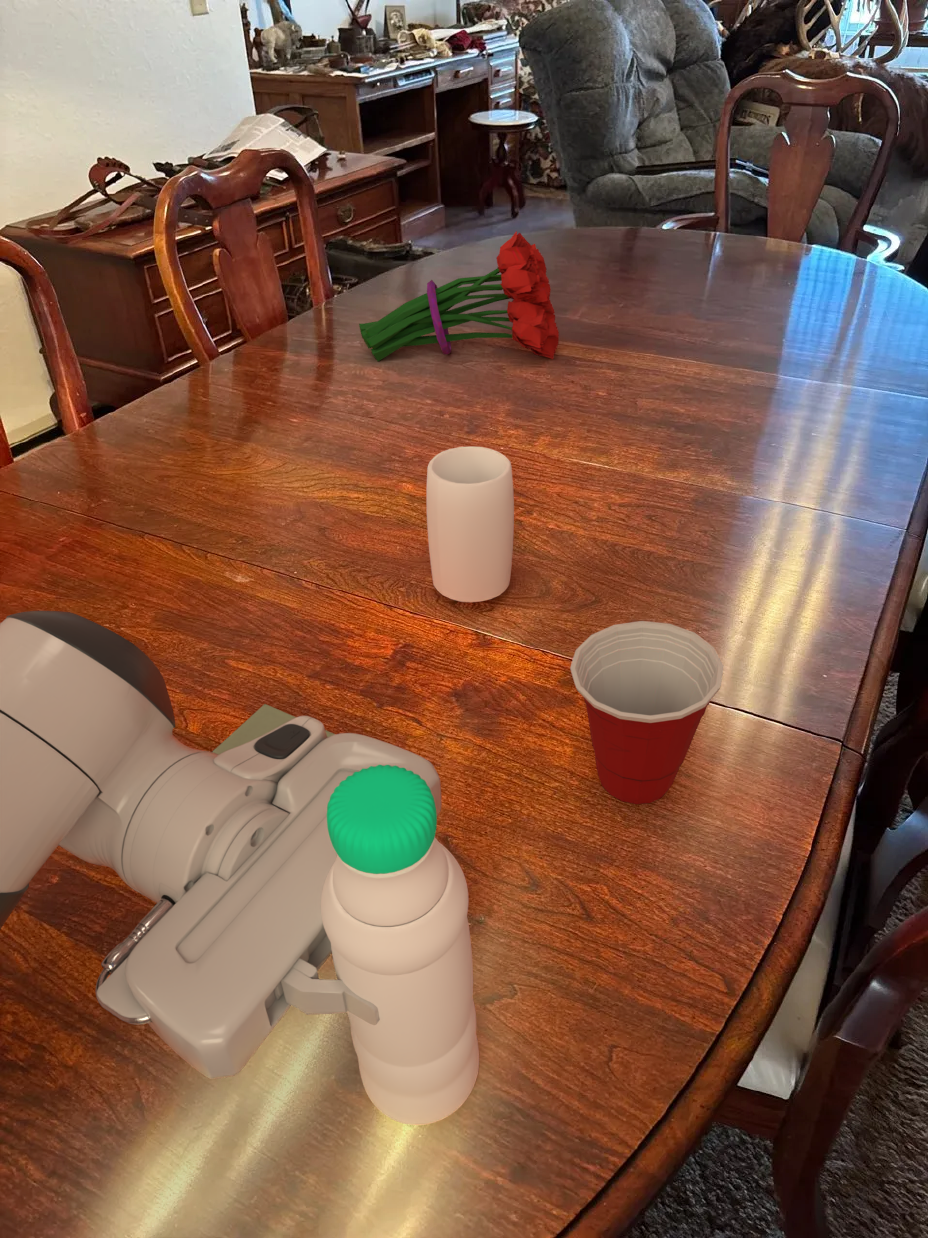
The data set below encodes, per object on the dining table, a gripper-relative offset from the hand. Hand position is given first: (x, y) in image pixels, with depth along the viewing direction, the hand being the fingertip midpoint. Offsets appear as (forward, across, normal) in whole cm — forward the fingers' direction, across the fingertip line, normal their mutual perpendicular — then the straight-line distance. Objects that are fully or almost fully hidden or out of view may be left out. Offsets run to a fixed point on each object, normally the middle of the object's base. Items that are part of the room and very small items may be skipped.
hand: (423, 949), depth 47 cm
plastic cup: (+1, +28, +13) cm, 31 cm away
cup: (-23, +44, +13) cm, 51 cm away
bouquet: (-56, +97, +13) cm, 113 cm away
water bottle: (-1, 0, +13) cm, 13 cm away
